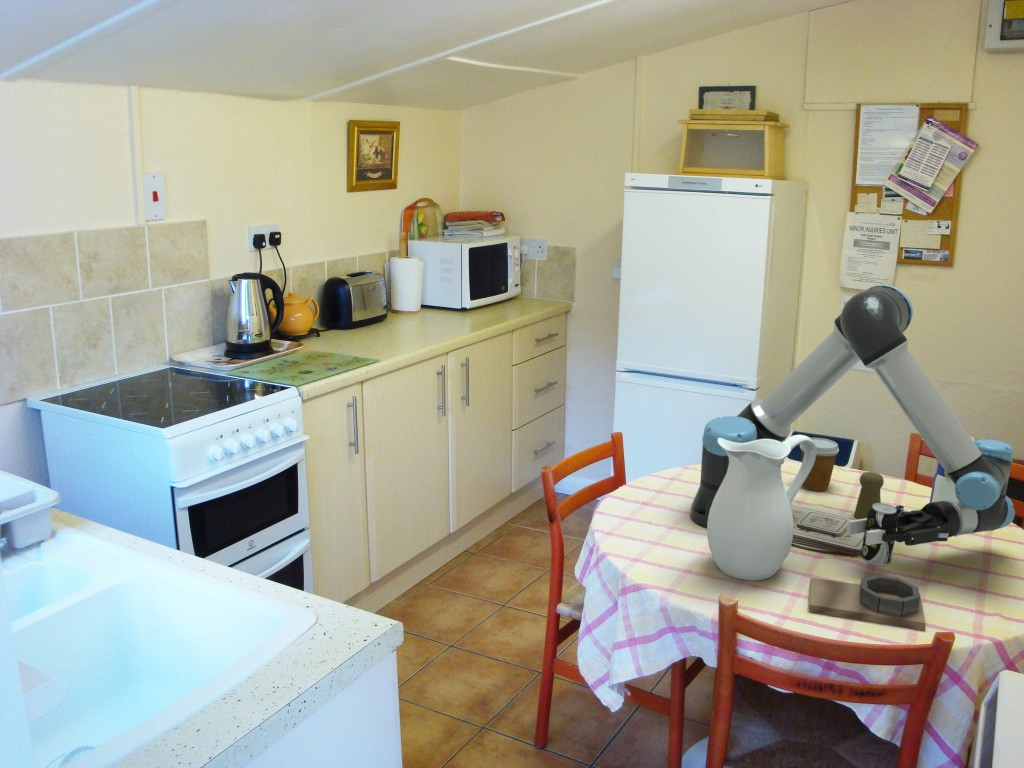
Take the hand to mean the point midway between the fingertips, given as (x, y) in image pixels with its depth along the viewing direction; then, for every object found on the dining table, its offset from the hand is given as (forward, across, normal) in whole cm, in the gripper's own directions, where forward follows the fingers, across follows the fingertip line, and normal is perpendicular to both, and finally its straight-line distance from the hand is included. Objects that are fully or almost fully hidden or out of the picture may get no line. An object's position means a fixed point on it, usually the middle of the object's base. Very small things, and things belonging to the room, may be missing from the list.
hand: (858, 532), depth 182 cm
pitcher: (+14, +11, -10) cm, 21 cm away
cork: (-26, +25, -10) cm, 37 cm away
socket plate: (+6, -10, -10) cm, 15 cm away
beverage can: (-5, 0, -7) cm, 9 cm away
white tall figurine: (-45, +20, -10) cm, 51 cm away
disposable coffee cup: (-28, +45, -10) cm, 54 cm away
